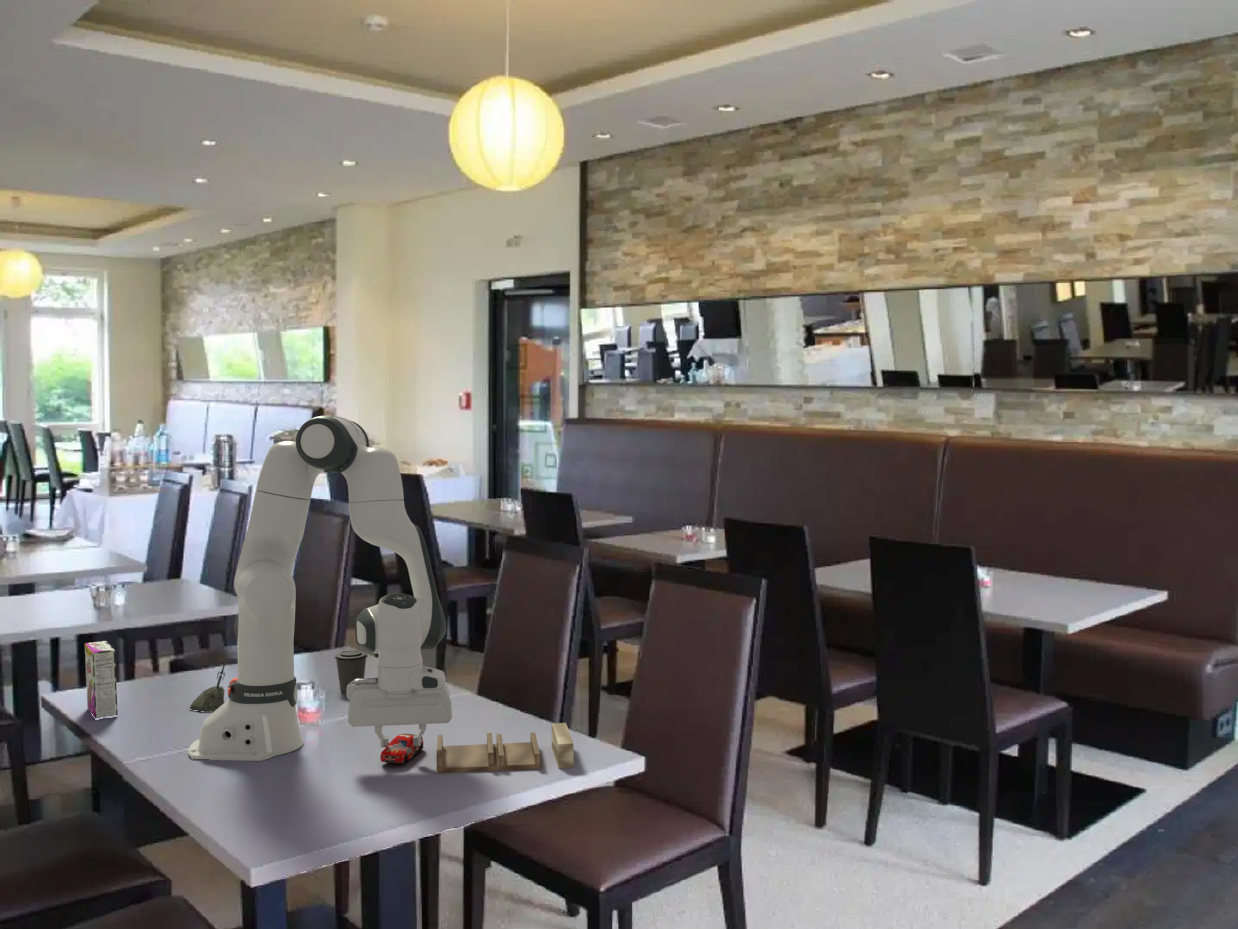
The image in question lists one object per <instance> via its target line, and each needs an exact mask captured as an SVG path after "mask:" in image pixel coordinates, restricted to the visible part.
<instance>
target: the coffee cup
mask: <svg viewBox="0 0 1238 929" xmlns="http://www.w3.org/2000/svg"><path fill="white" fill-rule="evenodd" d="M367 653H368V652H366V651H360V650H346V651H344V650H343V651H341V652H340V653H337V654H335V656H334V659H335V660H336V661H335V662H336V668H337V674H338V675H337V676H338V683H339V690H340V692H341V693H346V688H347V685H348V684H349V683H350V682H352V681H354V679H365V675H366V674H365V672H366V663H367V658H368V657H369V655H368V654H367ZM352 684H354V683H352Z"/></svg>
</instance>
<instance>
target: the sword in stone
mask: <svg viewBox="0 0 1238 929" xmlns="http://www.w3.org/2000/svg"><path fill="white" fill-rule="evenodd" d="M227 661H228V658H227V657H225V658H224V661H223V665H222V669H221V670H220V671H218V672H217V675H216V676H217V677H216V679H217V684H216V686H215V685H214V686H211V687H209V688H206V689H205V690H202V692H201V693H200V694H199V695H198V696H197V697H196V698H195V699H193V700H194V701H192V703H191V704H190V706H191V707H190V706H189V707H190V709H192V710H198V711H215V710H217V709H218V708H219V707H220V706H221V705H223V704H224V703H225V698H224V697H225V689H224V687H223V686H220V683H221V680H222V682H223V680H224V679H225V676H226V673H225V671H224V670H225V667H226V663H227ZM222 675H223V676H222Z"/></svg>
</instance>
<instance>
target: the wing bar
mask: <svg viewBox="0 0 1238 929" xmlns="http://www.w3.org/2000/svg"><path fill="white" fill-rule="evenodd" d="M551 748H552V752H553V755H554V758H555V762H556V765H557V768H558V769H568V768H569V769H570V768H574V762H575V761H574V759H575V758H574V750H575V749H574V740H573V739H572V736H571V733H570V731H569V727H568V725H567V723H566V722H557V723H551Z"/></svg>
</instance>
